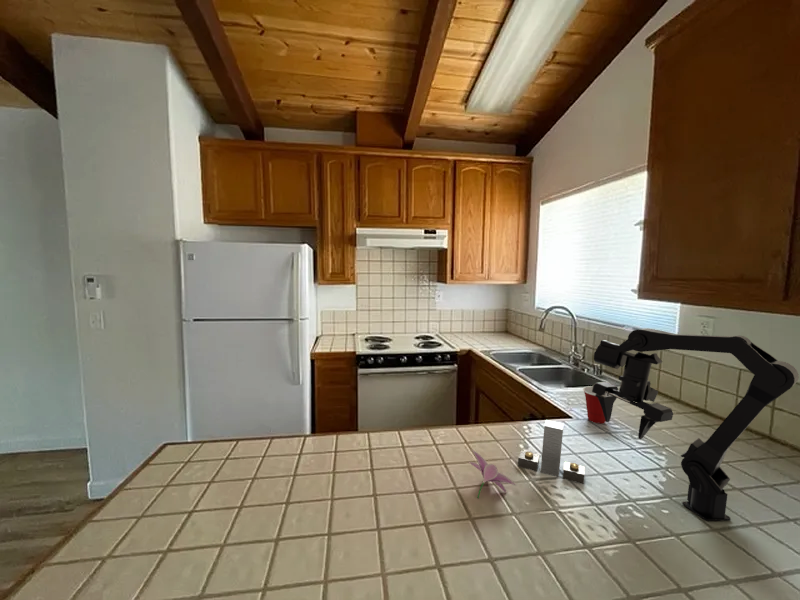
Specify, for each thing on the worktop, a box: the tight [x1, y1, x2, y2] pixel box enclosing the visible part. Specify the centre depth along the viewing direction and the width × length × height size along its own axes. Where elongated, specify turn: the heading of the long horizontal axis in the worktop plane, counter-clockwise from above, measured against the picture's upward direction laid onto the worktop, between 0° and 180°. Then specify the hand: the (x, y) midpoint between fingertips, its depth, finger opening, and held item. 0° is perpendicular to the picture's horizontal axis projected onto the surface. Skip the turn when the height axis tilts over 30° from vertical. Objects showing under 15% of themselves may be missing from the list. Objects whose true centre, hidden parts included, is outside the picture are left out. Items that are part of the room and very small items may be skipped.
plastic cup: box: [582, 385, 606, 424], centre depth 141 cm, size 11×11×12 cm
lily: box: [468, 449, 517, 499], centre depth 90 cm, size 12×12×10 cm
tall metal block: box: [540, 419, 564, 478], centre depth 102 cm, size 4×4×13 cm
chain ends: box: [517, 450, 586, 485], centre depth 102 cm, size 16×5×3 cm, turn 63°
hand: (623, 429), depth 101 cm, fingers open, 9 cm apart
